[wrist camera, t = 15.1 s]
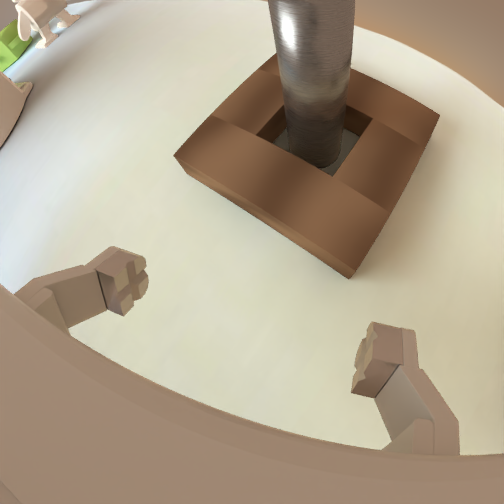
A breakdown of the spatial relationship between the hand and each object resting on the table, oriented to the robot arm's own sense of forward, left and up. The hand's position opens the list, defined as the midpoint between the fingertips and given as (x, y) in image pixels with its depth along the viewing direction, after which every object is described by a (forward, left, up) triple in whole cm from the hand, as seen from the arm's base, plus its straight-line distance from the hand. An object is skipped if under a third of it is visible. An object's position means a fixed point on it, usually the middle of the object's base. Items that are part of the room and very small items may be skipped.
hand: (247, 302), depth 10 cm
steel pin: (-4, +11, -7) cm, 14 cm away
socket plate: (-4, +11, -7) cm, 14 cm away
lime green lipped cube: (-82, +7, -8) cm, 83 cm away
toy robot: (-64, +17, -8) cm, 67 cm away
